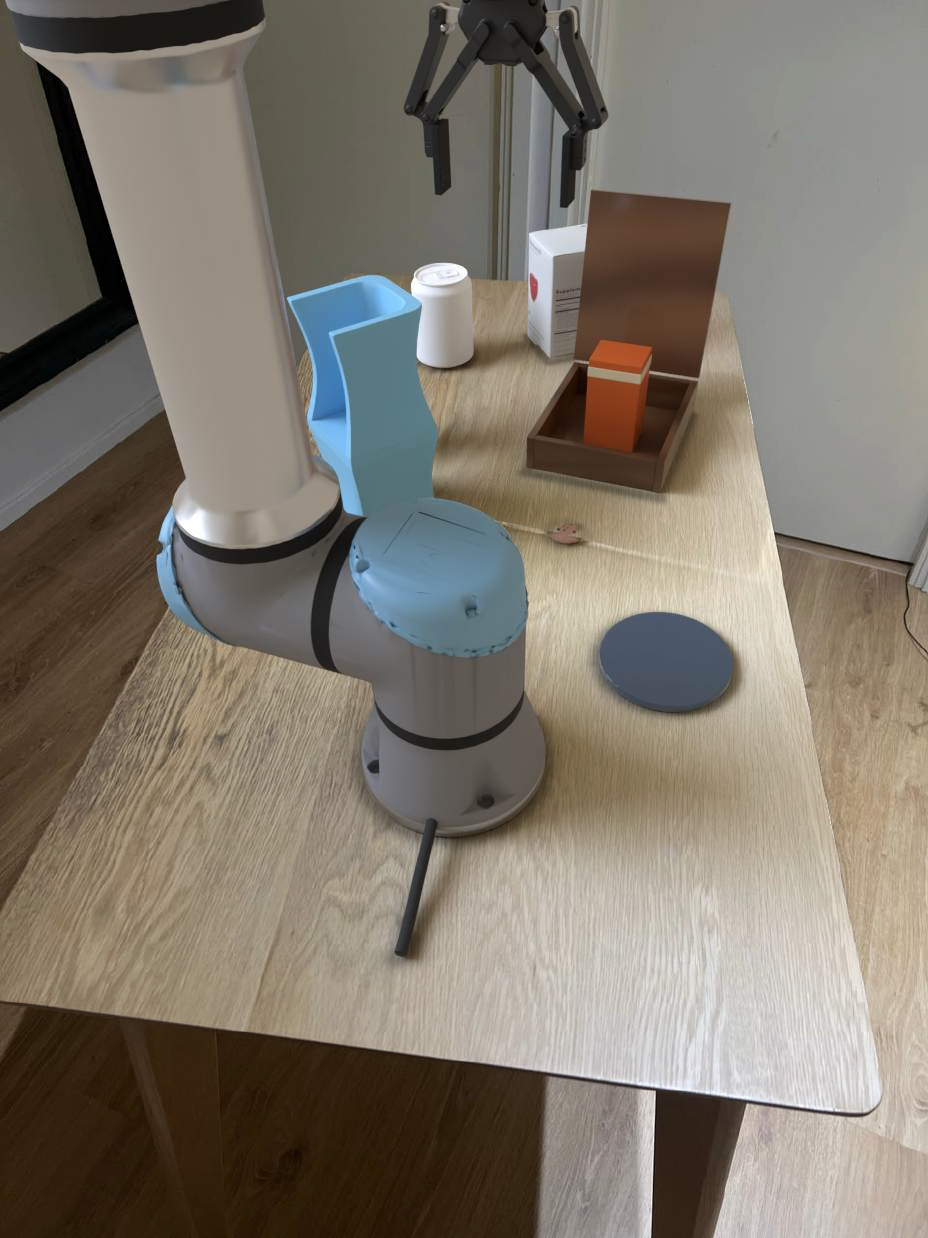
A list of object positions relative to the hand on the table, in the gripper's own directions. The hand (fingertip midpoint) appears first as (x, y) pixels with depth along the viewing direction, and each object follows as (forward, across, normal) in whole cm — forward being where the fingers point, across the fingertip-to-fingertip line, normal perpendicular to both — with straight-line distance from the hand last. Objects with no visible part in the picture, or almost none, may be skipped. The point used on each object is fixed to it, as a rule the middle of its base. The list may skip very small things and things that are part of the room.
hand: (503, 197), depth 91 cm
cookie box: (+27, -13, -2) cm, 30 cm away
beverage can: (+28, +15, -16) cm, 36 cm away
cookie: (+28, -13, +17) cm, 36 cm away
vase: (+28, +7, +21) cm, 36 cm away
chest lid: (+13, -13, -13) cm, 22 cm away
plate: (+28, -27, +32) cm, 51 cm away
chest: (+28, -13, -2) cm, 31 cm away
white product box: (+28, 0, -25) cm, 38 cm away
